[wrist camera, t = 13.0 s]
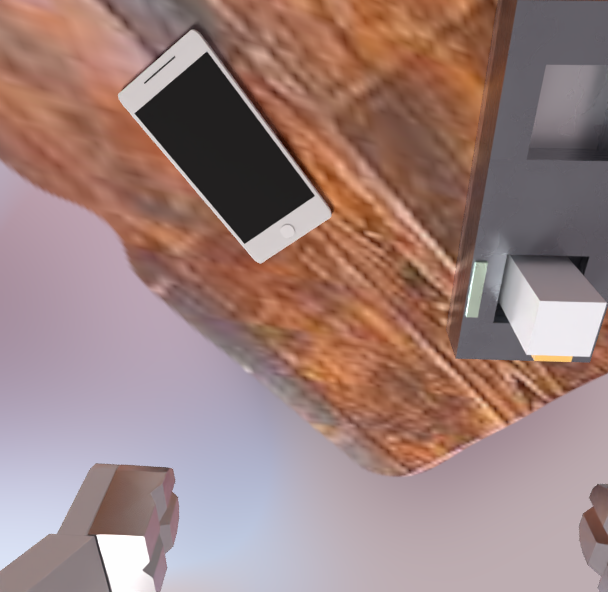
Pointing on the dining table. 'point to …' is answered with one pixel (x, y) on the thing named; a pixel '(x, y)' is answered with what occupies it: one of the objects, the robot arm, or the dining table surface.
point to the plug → (550, 306)
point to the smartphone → (224, 147)
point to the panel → (535, 164)
